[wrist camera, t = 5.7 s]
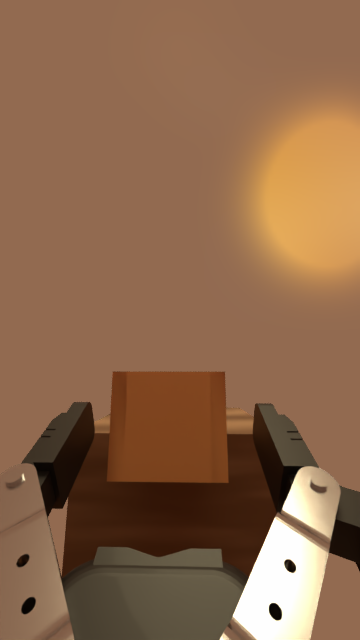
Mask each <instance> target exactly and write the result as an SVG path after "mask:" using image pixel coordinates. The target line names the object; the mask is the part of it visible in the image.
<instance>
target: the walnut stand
mask: <svg viewBox="0 0 360 640" xmlns="http://www.w3.org/2000/svg"><path fill="white" fill-rule="evenodd" d="M253 420H254V417H253V416H251V415H250V414H248V413H246V412H245V411H243V410H242V409H240V408H226V422H227V452H228V482H229V483H195V482H109V481H107V469H108V451H109V433H110V414H109V415H107V416H105V417H103V418H101V419H99V420H98V421H96V422H94V426H95V434H94V439H93V442H92V444H91V447H90V449H89V451H88V453H87V456H86V458H85V460H84V462H83V464H82V467H81V469H80V471H79V473H78V476H77V478H76V480H75V482H74V484H73V487H72V489H71V491H70V493H69V495H68V507H67V520H66V531H65V544H64V556H63V569H62V578H63V577H64V576H65V575H66V574H67V573H69V572H70V571H72V570H73V569H74V568H76V567H78V566H80V565H81V564H83V563H85V562H88V561H90V560H93V559H95V556H96V552H97V549H98V547H128V548H131V549H134V550H137V551H140V552H143V553H146V554H149V555H151V556H154V557H163V556H167V555H170V554H173V553H177V552H180V551H184V550H187V549H221V554H222V561H224V562H226V563H229V564H231V565H233V566H235V567H236V568H238V569H239V570H241V571H242V572H244V573H245V574H246V575H247V576H248V577H250V575H251V573H252V570H253V568H254V566H255V563H256V561H257V559H258V556H259V554H260V552H261V549H262V547H263V545H264V542H265V540H266V538H267V535H268V533H269V531H270V528H271V526H272V524H273V521H274V519H275V517H276V515H277V512H276V509H275V506H274V503H273V500H272V497H271V494H270V491H269V488H268V485H267V481H266V478H265V475H264V472H263V469H262V466H261V463H260V460H259V457H258V454H257V451H256V448H255V445H254V441H253Z"/></svg>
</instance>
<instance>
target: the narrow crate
mask: <svg viewBox="0 0 360 640" xmlns="http://www.w3.org/2000/svg"><path fill="white" fill-rule="evenodd" d="M107 481H109V482H195V483H229V482H228V452H227V422H226V392H225V372H113V378H112V396H111V414H110V433H109V451H108V469H107Z"/></svg>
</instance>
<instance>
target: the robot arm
mask: <svg viewBox="0 0 360 640" xmlns="http://www.w3.org/2000/svg"><path fill="white" fill-rule="evenodd" d="M94 434H95V426H94V419H93V412H92V405H91V403H90V402H74V403H73V404H72V405H71V407H70V408H69V410H68V411H67V413H61V414H60V415H58V416H57V417H56V418H55V419H53V420H52V421H51V423H50V424H49V426H48V427H47V428H46V430H45V431H44V432H43V434H42V435H41V438H39V439H38V441H37V442H36V443H35V445H34V446H33V448H32V449H31V450H30V452H29V453H28V455H27V456H26V457H25V459H24V460H23V461H22V463H21V464H19V465H15V466H13V467H11V468H9V469H7V470H6V471H4V472H3V473H2V474H1V475H0V640H310V636H311V632H312V628H313V623H314V618H315V614H316V609H317V604H318V600H319V595H320V590H321V585H322V581H323V576H324V572H325V567H326V562H327V557H328V553H332V554H335V555H338V556H340V557H343V558H346V559H348V560H351V561H354V562H356V564H357V566H358V569H359V571H360V492H358V491H354V490H351V489H347V488H344V487H342V486H340V485H338V483H337V481H336V480H335V479H334V478H333V477H332V476H331V475H330V474H329V473H327V472H326V471H324V470H322V469H320V468H319V467H318V465H317V463H316V461H315V460H314V458H313V456H312V454H311V453H310V451H309V449H308V447H307V446H306V444H305V442H304V441H303V439H302V437H301V435H300V433H298V430H297V428H296V426H295V425H294V423H293V422H292V421H291V420H290V419H289V418H288V417H286V416H285V415H278V414H277V412H276V410H275V408H274V406H273V404H255V410H254V420H253V441H254V445H255V448H256V451H257V454H258V457H259V460H260V463H261V466H262V469H263V472H264V475H265V478H266V481H267V485H268V488H269V491H270V494H271V497H272V500H273V503H274V506H275V509H276V512H277V515H276V517H275V519H274V521H273V524H272V526H271V528H270V531H269V533H268V535H267V538H266V540H265V542H264V545H263V547H262V549H261V552H260V554H259V556H258V559H257V561H256V563H255V566H254V568H253V570H252V573H251V575H250V577H248V576H247V575H246V574H245V573H244V572H242V571H241V570H239V569H238V568H236V567H235V566H233V565H231V564H229V563H226V562H224V561H222V554H221V549H187V550H184V551H180V552H177V553H173V554H170V555H167V556H163V557H154V556H151V555H149V554H146V553H143V552H140V551H137V550H134V549H131V548H128V547H98V549H97V552H96V556H95V559H93V560H90V561H88V562H85V563H83V564H81V565H80V566H78V567H76V568H74V569H73V570H72V571H70V572H69V573H67V574H66V575H65V576H64V577H63V578H62V577H61V573H60V568H59V564H58V560H57V555H56V551H55V547H54V542H53V538H52V534H51V529H50V525H49V521H48V516H49V514H50V512H51V510H52V508H55V509H62V508H63V506H64V504H65V502H66V500H67V498H68V495H69V493H70V491H71V489H72V487H73V484H74V482H75V480H76V478H77V476H78V473H79V471H80V469H81V467H82V464H83V462H84V460H85V458H86V456H87V453H88V451H89V449H90V447H91V444H92V442H93V439H94Z"/></svg>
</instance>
